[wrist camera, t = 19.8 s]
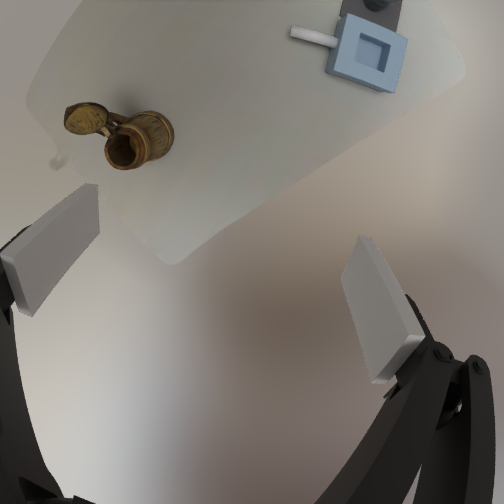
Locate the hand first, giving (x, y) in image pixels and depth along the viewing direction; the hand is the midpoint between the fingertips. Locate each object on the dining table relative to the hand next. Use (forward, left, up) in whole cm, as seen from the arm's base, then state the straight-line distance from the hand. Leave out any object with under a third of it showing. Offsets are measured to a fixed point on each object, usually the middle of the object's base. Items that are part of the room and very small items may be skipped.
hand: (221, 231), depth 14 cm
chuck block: (-17, +11, -37) cm, 42 cm away
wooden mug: (+3, -18, -37) cm, 42 cm away
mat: (-28, +15, -37) cm, 49 cm away
